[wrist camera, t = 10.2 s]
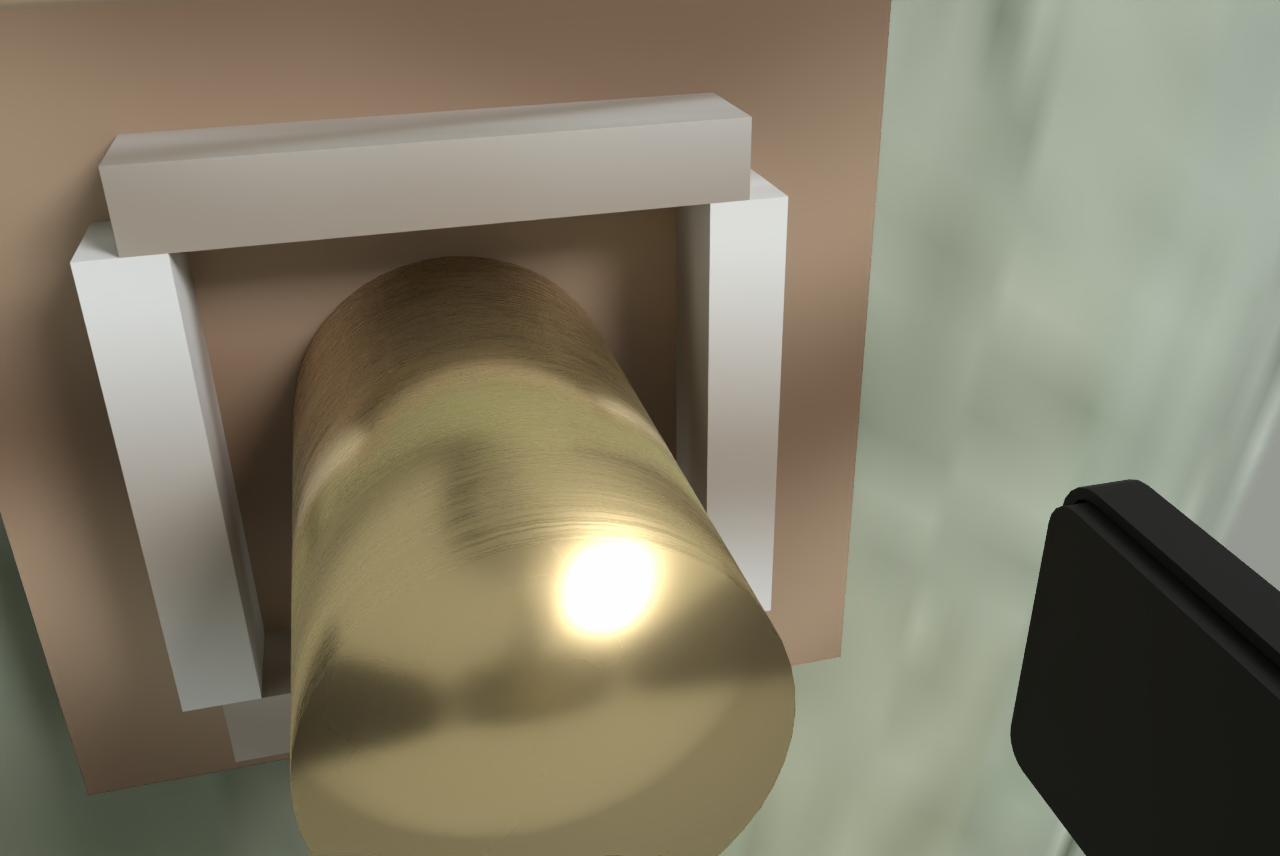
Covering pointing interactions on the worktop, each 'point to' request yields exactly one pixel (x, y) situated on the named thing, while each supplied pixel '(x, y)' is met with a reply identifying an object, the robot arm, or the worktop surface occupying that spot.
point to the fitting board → (378, 243)
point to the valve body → (510, 592)
